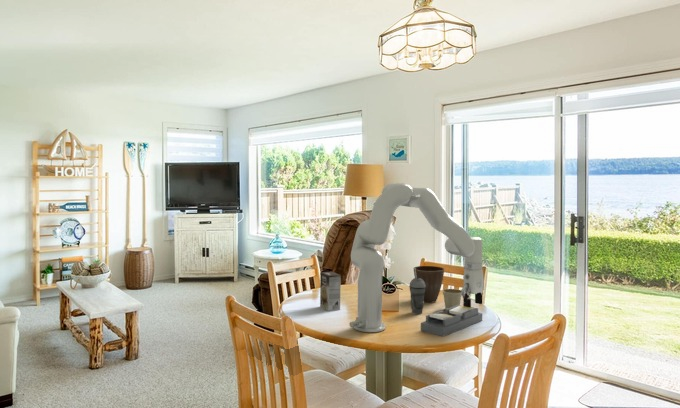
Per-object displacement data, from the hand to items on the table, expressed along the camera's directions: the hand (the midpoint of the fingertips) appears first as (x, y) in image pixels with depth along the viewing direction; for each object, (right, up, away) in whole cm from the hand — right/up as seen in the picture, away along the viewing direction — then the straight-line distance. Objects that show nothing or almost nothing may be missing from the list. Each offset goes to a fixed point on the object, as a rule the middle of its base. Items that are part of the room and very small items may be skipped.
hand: (472, 305), depth 196 cm
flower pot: (-6, -5, +13) cm, 15 cm away
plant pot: (-13, -4, +29) cm, 32 cm away
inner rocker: (-16, -1, -16) cm, 23 cm away
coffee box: (-62, -5, +14) cm, 63 cm away
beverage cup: (-23, -5, +7) cm, 24 cm away
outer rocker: (-6, -1, -6) cm, 9 cm away
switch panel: (-11, -5, -11) cm, 17 cm away
